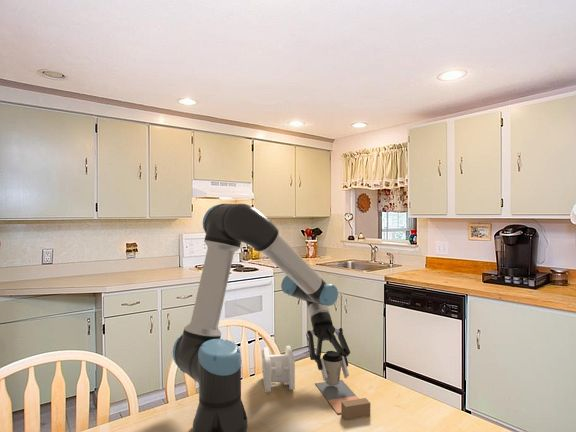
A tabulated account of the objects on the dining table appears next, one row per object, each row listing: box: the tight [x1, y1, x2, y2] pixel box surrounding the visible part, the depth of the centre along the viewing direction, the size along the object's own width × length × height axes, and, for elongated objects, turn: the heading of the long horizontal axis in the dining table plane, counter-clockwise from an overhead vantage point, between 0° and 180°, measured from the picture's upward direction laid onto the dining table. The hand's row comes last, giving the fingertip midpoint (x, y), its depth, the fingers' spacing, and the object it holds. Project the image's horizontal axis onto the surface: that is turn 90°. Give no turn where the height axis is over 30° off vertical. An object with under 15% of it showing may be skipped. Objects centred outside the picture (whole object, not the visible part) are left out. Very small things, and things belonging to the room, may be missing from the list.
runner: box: [315, 379, 371, 421], centre depth 122 cm, size 24×10×4 cm, turn 15°
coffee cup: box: [322, 350, 343, 386], centre depth 129 cm, size 7×7×10 cm
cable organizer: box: [261, 345, 296, 393], centre depth 131 cm, size 15×11×12 cm
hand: (336, 377), depth 126 cm, fingers closed on coffee cup, 7 cm apart
